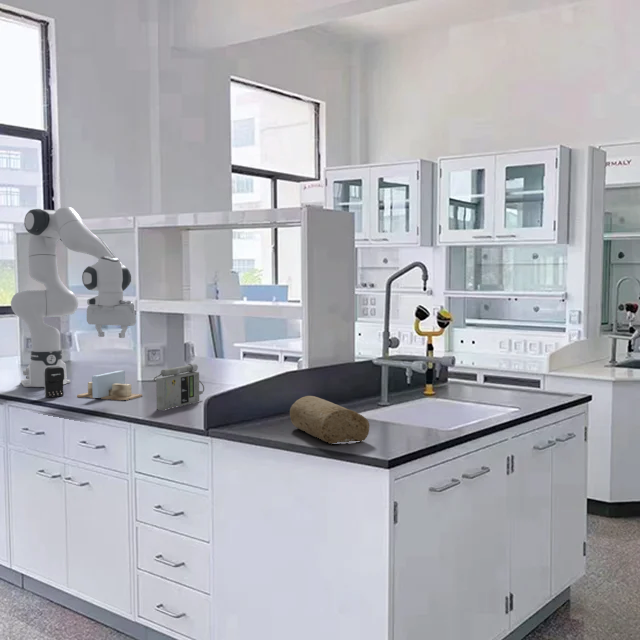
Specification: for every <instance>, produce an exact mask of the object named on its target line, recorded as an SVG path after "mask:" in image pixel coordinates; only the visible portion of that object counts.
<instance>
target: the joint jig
mask: <svg viewBox="0 0 640 640" xmlns="http://www.w3.org/2000/svg"><path fill="white" fill-rule="evenodd" d="M132 392H133V391H132V384H129V383H125V384H119V383H116V384H112V389H110V390H109V396H105V397H101V399H100V400H108V399H111V400H112V401H121V400H127V401H130V400H129V399H131V400H134V399H133V398H135V399H138V398H142V397H143V394H142V393H132ZM141 396H142V397H141ZM76 397H77V398H83V397H90V398H89V399H94V398H93V393H92V381H89V382H87V392H83V393H79V394H77V395H76ZM111 400H110V401H111Z"/></svg>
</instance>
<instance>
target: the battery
mask: <svg viewBox="0 0 640 640" xmlns="http://www.w3.org/2000/svg"><path fill="white" fill-rule="evenodd" d="M63 380H64V369H63V368H62V367H60V366H50V367H46V368H45V369H44V387H43V388H44V398H57V396H59V397H63V396H64V395H65V394H64V393H65V392H64V385H63Z"/></svg>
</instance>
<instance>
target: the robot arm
mask: <svg viewBox="0 0 640 640" xmlns="http://www.w3.org/2000/svg"><path fill="white" fill-rule="evenodd" d="M23 222H24V228H25V230H26V231H27V232H28V233H29V234H30V237H29V240H28V241H29V242H28V274H29V276H30V278H32V280H34V281H35V282H38V283H40V284H43V285H44V287H45V289H43V290H42V289H41V290H39V289H38V290H24V291H19V292H18V291H17V292H15V294H14V295H13V296H12V298H11V301H10V309H11V310H12V312H13V313H14V314H15V315H16V316H17V317H19V318H20V319H21V320H22V321H23V322H24V323H25V324H26V326H27V328H28V330H29V332H30V338H31V339H30V341H31V352H30V361H29V364H28V365H27V366H26V368H25V369H23V370H22V374H23V376H25V379H24V378H23V379H21V380H20V383H21V385H22V386H23V387H24V388H28V387H29V388H32V387H33V388H34V387H35V388H45V387H44V369H45V368H46V367H50V366H60V367H62V368H63V369H64V380H63V386H64V385H65V384H69V383H71V379H68V377H67V363H65V362H64V361H63V360H62V359H63V352H62V349H61V332H60V330H59V329H58V328H57V327H55V326H53V325H50V324H48V323H46V322H45V320H44V318H51V317H52V318H53V317H54V318H56V317H59V318H60V317H67V316H70V315H74V314H75V313H76V311H77V310H78V307H79V301H78V297H77V296H76V293H75V292H73V291H72V290H71V289H69V288H68V287H67V286H66V285H65V284H64V282H63V281H62V279H61V276H60V272H59V268H58V254H57V253H58V251H57V243H59V241H60V242H62V243H63V245H64V246H65V247H66V248H67V249H68V250H69V251H73V252H75V253H81V254H84V255H85V254H86V255H89V256H92V257H94V258H96V259H97V262H95V263H94V264H92V265H89V266H86V267H85V268H84V270H83V272H82V275H81V276H82V278H81V280H82V284H83V285H84V287H85V289H87V290H89V291H92V292H93V291H94V292H95V291H96V292H97V291H98V292H97V293H98V295H96V296H94V297H90V298H88V299H87V301H86V303H87V304H86V305H88V306H87V308H86V322H87V324H88V325H95V329H96V331H97V335H98V337H99V338H102V337H105V331H103V326H117V327H118V326H120V329H121V331H120V332H119V333H118V338H119V339H124V338H126V332H127V331H128V327H132V326H135V325H136V323H137V319H136V317H137V316H136V311H135V304H134V303H133V302H132V301H130V300H124V291H125V290H126V289H128V287H129V286H130V284H131V282H132V275H131V271H130V270H129V268H127V267H126V266H125V265H124V264H123V263H122V261H121V260H120V258H118V257H117V256H116V255H115V254H114V252H113V251H112V250H111V249H110V247H109V246H108V244H107V243H105V241H104V240H103V239H101V238H100V237H98V236H97V235H96V234H95V233H94V232H92V231H91V230H90V228H89V227H88V226H87V225H86V223H85V221H84V219H83V218H82V217H81V215H80V214H79V213H78V212H77V211H76V210H75V208H73V207H70V206H61V207H59V208H58V209H57V210H55V209H52V210H51V209H41V208H34V209H30V210H29V211H28V212H27V213H26V214H25V217H24V221H23Z"/></svg>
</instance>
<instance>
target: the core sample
mask: <svg viewBox="0 0 640 640" xmlns="http://www.w3.org/2000/svg"><path fill="white" fill-rule="evenodd" d="M289 416H290V417H289V418H290V421H291V424H292V425H293V426H294V427H296V428H297V429H298V430H300V431H303V432H304V431H305V433H306V434H307V435H310V436H312V437H313V438H314V437H315V438H316V437H317V438H316V439H318V438H319V439H318V440H320V439H321V441H323V442H325V443H327V442H328V444H330V443H337V442H349V441H362V440H364V441H365V440H366V439H367V437H368V435H369V433H370V422H369V420H368V418H366V416H364V415H362V414H360V413H358V412H357V411H355V410H353V409H349V408H346V407H343V406H341V405H339V404H337V403H334V402H332V401H329V400H326V399H324V398H322V397H321V398H320V397H318V396H314V395H305V396H303V397H300V398H299V399H296V401H294V403H293V404H291V406H290V409H289ZM362 442H363V441H362Z"/></svg>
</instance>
